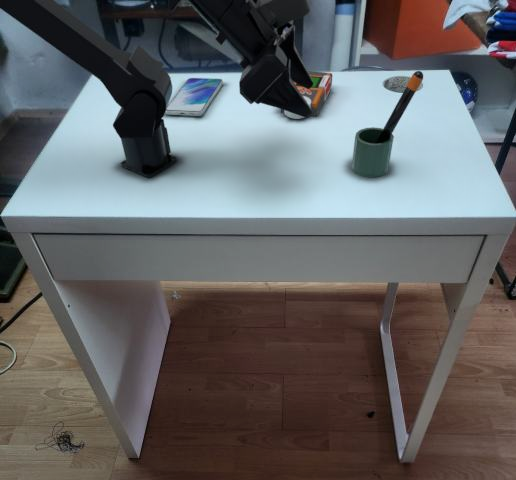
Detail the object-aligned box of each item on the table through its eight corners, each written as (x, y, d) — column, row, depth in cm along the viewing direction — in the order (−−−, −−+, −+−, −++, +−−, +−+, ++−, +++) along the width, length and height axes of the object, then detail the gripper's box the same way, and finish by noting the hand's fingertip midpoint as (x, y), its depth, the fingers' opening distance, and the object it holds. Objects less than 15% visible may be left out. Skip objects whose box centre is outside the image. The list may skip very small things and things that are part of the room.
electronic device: (276, 104, 86) (298, 67, 95) (276, 121, 89) (298, 83, 97) (315, 108, 85) (333, 70, 94) (314, 125, 87) (332, 86, 96)
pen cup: (377, 181, 74) (382, 148, 70) (345, 170, 76) (348, 138, 72) (394, 165, 76) (400, 133, 73) (362, 155, 79) (367, 124, 75)
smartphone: (163, 110, 90) (188, 77, 99) (164, 115, 90) (189, 82, 100) (201, 112, 88) (223, 78, 98) (202, 117, 89) (224, 83, 99)
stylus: (370, 168, 75) (423, 75, 65) (362, 163, 76) (413, 69, 65) (375, 166, 76) (427, 74, 66) (367, 160, 76) (418, 68, 66)
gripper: (264, -29, 52) (359, 84, 59) (277, -67, 64) (354, 31, 72) (198, 54, 58) (291, 147, 66) (221, 5, 71) (297, 88, 78)
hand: (310, 100), depth 70 cm, fingers open, 9 cm apart
